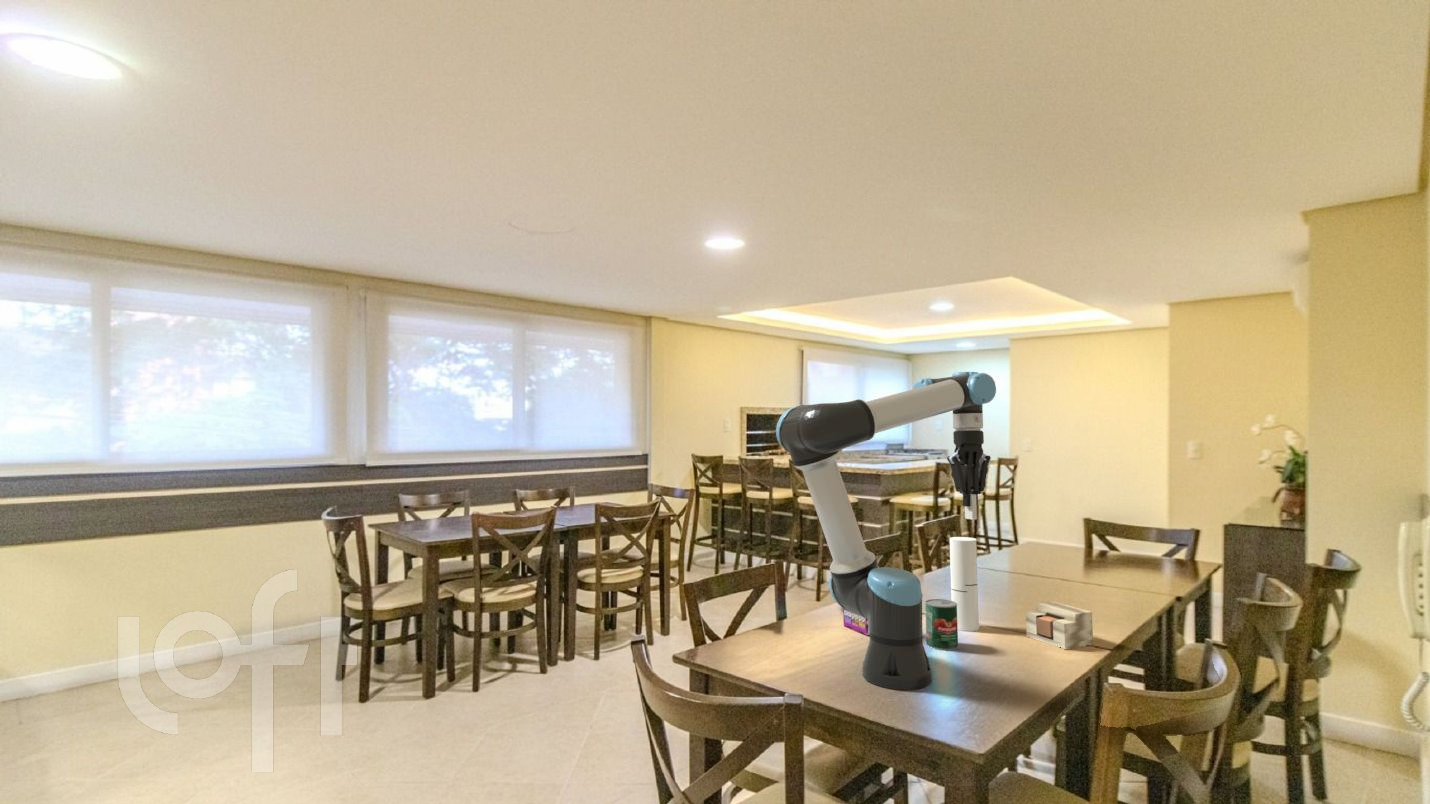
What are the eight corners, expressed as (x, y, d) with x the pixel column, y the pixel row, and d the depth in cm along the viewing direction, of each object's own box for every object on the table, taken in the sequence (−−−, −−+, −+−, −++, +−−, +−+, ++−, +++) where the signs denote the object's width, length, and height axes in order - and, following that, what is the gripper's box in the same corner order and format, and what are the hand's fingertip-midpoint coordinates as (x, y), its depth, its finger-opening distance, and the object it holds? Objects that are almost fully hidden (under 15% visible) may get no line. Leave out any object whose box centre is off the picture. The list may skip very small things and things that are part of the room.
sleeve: (1065, 649, 165) (1063, 616, 165) (1026, 636, 176) (1025, 605, 176) (1093, 644, 169) (1091, 611, 169) (1053, 632, 180) (1052, 601, 180)
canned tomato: (946, 652, 164) (945, 608, 164) (919, 644, 170) (918, 602, 171) (964, 646, 168) (963, 603, 169) (938, 639, 175) (937, 597, 175)
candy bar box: (881, 634, 180) (880, 573, 180) (867, 636, 177) (865, 575, 178) (856, 623, 190) (855, 566, 191) (842, 625, 188) (841, 568, 189)
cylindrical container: (983, 631, 181) (980, 540, 182) (957, 631, 181) (954, 540, 183) (973, 624, 188) (970, 536, 190) (948, 624, 188) (946, 537, 190)
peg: (1050, 637, 168) (1049, 621, 169) (1037, 633, 172) (1036, 617, 172) (1078, 632, 172) (1077, 617, 172) (1064, 628, 176) (1064, 613, 176)
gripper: (959, 429, 168) (961, 521, 167) (997, 429, 173) (1000, 519, 171) (939, 430, 175) (941, 518, 173) (976, 430, 180) (979, 516, 178)
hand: (970, 518), depth 172 cm, fingers closed
